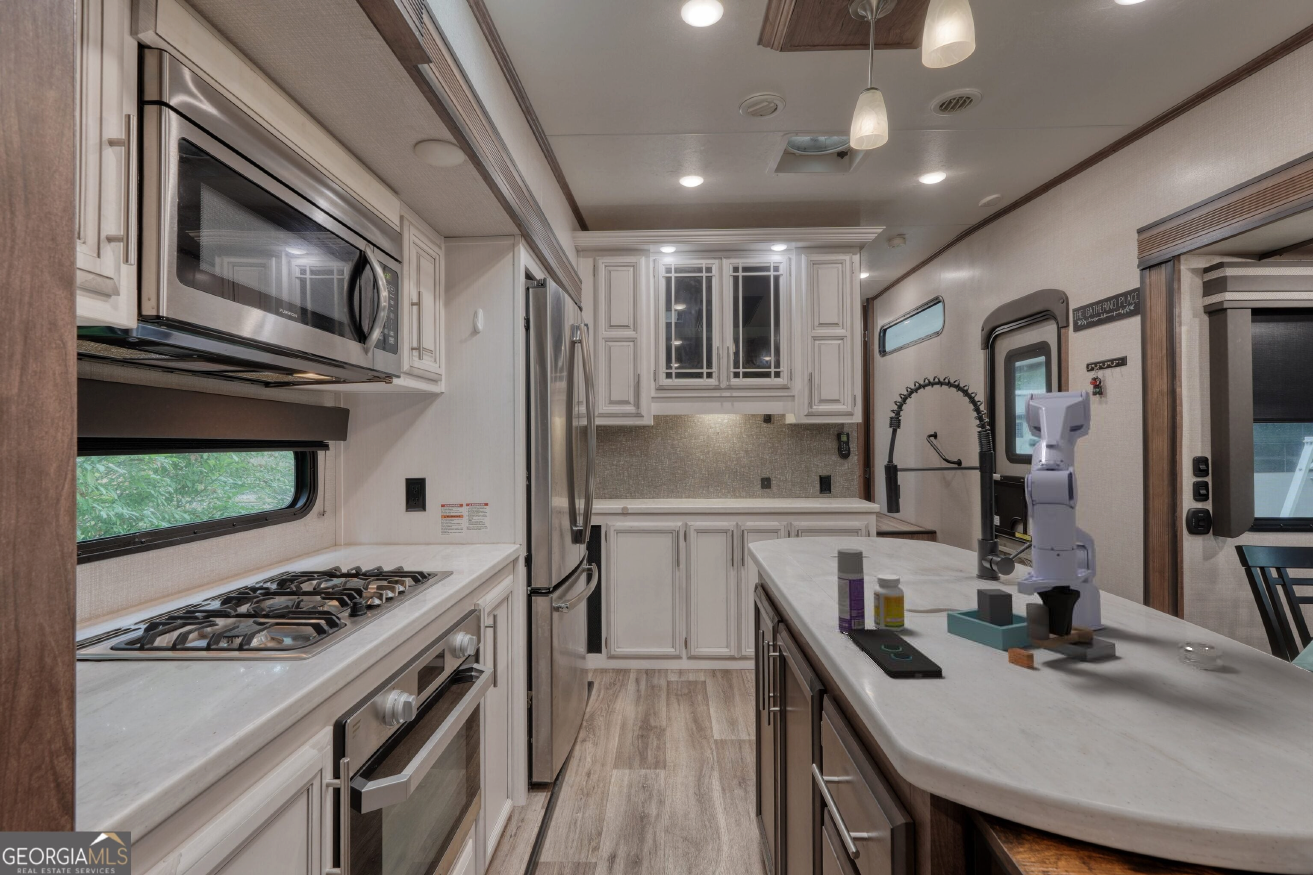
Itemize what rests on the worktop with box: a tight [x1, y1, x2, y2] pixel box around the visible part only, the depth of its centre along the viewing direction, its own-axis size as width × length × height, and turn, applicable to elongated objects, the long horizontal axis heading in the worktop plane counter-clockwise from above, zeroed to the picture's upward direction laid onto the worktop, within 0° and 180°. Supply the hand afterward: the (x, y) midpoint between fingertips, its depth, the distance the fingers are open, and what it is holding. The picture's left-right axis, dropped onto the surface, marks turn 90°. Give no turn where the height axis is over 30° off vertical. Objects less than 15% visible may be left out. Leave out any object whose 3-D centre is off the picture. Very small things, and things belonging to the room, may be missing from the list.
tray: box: [946, 607, 1033, 651], centre depth 104 cm, size 11×11×4 cm
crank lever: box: [1025, 602, 1094, 650], centre depth 94 cm, size 14×4×6 cm, turn 114°
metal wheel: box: [1177, 641, 1224, 671], centre depth 90 cm, size 5×3×5 cm
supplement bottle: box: [873, 574, 905, 632], centre depth 111 cm, size 5×5×10 cm
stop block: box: [976, 588, 1014, 627], centre depth 104 cm, size 4×4×7 cm
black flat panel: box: [847, 628, 943, 679], centre depth 96 cm, size 8×2×20 cm
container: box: [837, 548, 866, 633], centre depth 109 cm, size 5×5×15 cm
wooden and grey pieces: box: [1007, 636, 1117, 669], centre depth 94 cm, size 18×7×2 cm, turn 112°
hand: (1058, 634), depth 91 cm, fingers closed, pressing on crank lever
